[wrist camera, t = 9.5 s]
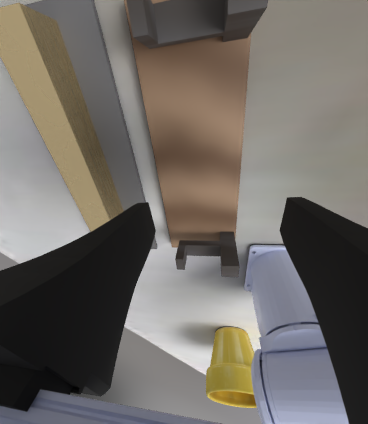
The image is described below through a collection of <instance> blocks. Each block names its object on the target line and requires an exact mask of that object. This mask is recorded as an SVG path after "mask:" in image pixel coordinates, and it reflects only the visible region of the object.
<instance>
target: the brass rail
mask: <svg viewBox="0 0 368 424" xmlns="http://www.w3.org/2000/svg"><path fill="white" fill-rule="evenodd" d="M0 57H1V59H2V61H3V63H4V64H5V66H6V68H7V70H8V72H9V74H10V76H11V78H12V80H13V82H14V84H15V86H16V88H17V90H18V92H19V94H20V96H21V97H22V99H23V101H24V103H25V105H26V107H27V109H28V111H29V113H30V115H31V117H32V119H33V121H34V123H35V125H36V127H37V129H38V130H39V132H40V134H41V136H42V138H43V140H44V142H45V144H46V146H47V148H48V150H49V152H50V154H51V156H52V158H53V160H54V162H55V163H56V165H57V167H58V169H59V171H60V173H61V175H62V177H63V179H64V181H65V183H66V185H67V187H68V189H69V191H70V193H71V195H72V196H73V198H74V200H75V202H76V204H77V206H78V208H79V210H80V212H81V214H82V216H83V218H84V220H85V222H86V224H87V226H88V228H89V229H90V231H93V230H95V229H96V228H98V227H100V226H101V225H103V224H105V223H106V222H108V221H110V220H111V219H113V218H114V217H116V216H117V215H119V214H120V213H122V212H123V208H122V205H121V202H120V199H119V197H118V194H117V191H116V188H115V185H114V182H113V180H112V177H111V174H110V171H109V168H108V165H107V162H106V160H105V157H104V154H103V151H102V148H101V145H100V143H99V140H98V137H97V134H96V131H95V128H94V125H93V123H92V120H91V117H90V114H89V111H88V108H87V106H86V103H85V100H84V97H83V94H82V91H81V89H80V86H79V83H78V80H77V77H76V74H75V71H74V69H73V66H72V63H71V60H70V57H69V54H68V52H67V49H66V46H65V43H64V40H63V37H62V34H61V32H60V29H59V26H58V23H57V20H54V19H52V18H50V17H48V16H46V15H44V14H42V13H40V12H37V11H35V10H33V9H31V8H29V7H27V6H25V5H22V4H20V3H16V4H12V5H8V6H5V7H1V8H0Z"/></svg>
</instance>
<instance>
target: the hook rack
mask: <svg viewBox="0 0 368 424" xmlns="http://www.w3.org/2000/svg"><path fill="white" fill-rule="evenodd" d="M124 3H125V8H126V13H127V18H128V23H129V28H130V33H131V39H132V44H133V49H134V54H135V59H136V64H137V69H138V75H139V80H140V85H141V90H142V95H143V100H144V105H145V111H146V116H147V121H148V126H149V131H150V136H151V141H152V147H153V152H154V157H155V162H156V167H157V172H158V177H159V183H160V188H161V193H162V198H163V203H164V208H165V214H166V219H167V224H168V229H169V234H170V239H171V244H172V247H178V250H177V254H176V259H175V260H176V265H177V269H181V270H185V265H186V258H187V255H192V256H221V276H225V277H238V274H239V261H238V255H237V248H236V242H235V234H236V221H237V208H238V195H239V182H240V169H241V156H242V143H243V130H244V117H245V104H246V91H247V78H248V65H249V52H250V39H251V32H252V30H253V28H254V27H255V25H256V24H257V22H258V21H259V19H260V17H261V16H262V14H263V13H264V11H265V10H266V8H267V3H268V0H124Z"/></svg>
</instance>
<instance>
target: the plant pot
mask: <svg viewBox="0 0 368 424" xmlns="http://www.w3.org/2000/svg"><path fill="white" fill-rule="evenodd" d="M253 357H254V351H253V348H252V345H251V342H250V339H249V336H248V334H247V333H246V332H245V331H244V330H242V329H240V328H236V327H222V328H219V329H218V330H217V331H216V332H215V338H214V345H213V352H212V358H211V364H210V367H209V368H208V369H207V374H206V394H207V397H208V398H209V399H211V400H213V401H215V402H218V403H222V404H225V405H230V406H237V407H245V408H257V406H256V402H255V397H254V392H253V386H252V378H251V364H252V360H253Z"/></svg>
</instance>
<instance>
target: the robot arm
mask: <svg viewBox="0 0 368 424" xmlns="http://www.w3.org/2000/svg"><path fill="white" fill-rule="evenodd" d="M155 232H156V230H155V226H154V222H153V219H152V215H151V211H150V207H149V203H148V202H145V203H137V204H135V205H133V206H131V207H130V208H128V209H126V210H125V211H123V212H122V213H120V214H119V215H117V216H116V217H114V218H113V219H111V220H110V221H108V222H106V223H105V224H103V225H101V226H100V227H98V228H96V229H95V230H93V231H91V232H90V233H88V234H86V235H84V236H82V237H81V238H79V239H77V240H75V241H73V242H71V243H69V244H67V245H64V246H62V247H60V248H58V249H55V250H53V251H51V252H49V253H46V254H44V255H42V256H39V257H37V258H34V259H32V260H29V261H26V262H24V263H21V264H18V265H16V266H13V267H10V268H7V269H4V270H1V271H0V424H221V423H215V422H210V421H205V420H200V419H194V418H189V417H184V416H179V415H173V414H168V413H163V412H158V411H152V410H147V409H142V408H137V407H131V406H126V405H121V404H115V403H110V402H105V401H99V400H94V399H88V398H84V397H78V396H73V395H70V393H76V394H81V393H84V394H90V395H95V396H102V395H103V394H105V393H106V392H107V391H108V390H109V389H110V387H111V382H112V377H113V372H114V367H115V362H116V358H117V353H118V349H119V344H120V340H121V336H122V332H123V328H124V324H125V320H126V317H127V313H128V309H129V306H130V302H131V299H132V296H133V292H134V289H135V286H136V283H137V281H138V278H139V276H140V273H141V271H142V269H143V266H144V264H145V261H146V259H147V257H148V254H149V252H150V249H151V247H152V244H153V240H154V236H155ZM280 233H281V236H282V239H283V242H284V245H285V246H283V245H252V246H250V249H249V256H248V263H247V270H246V277H245V284H244V290H245V291H251V292H252V297H253V302H254V307H255V312H256V317H257V322H258V328H259V331H260V334H261V337H260V338H259V340H260V345H261V349H257V350H256V351H255V354H254V357H253V360H252V364H251V378H252V386H253V392H254V397H255V402H256V406H257V410H258V413H259V416H260V419H261V422H262V424H368V228H366V227H363V226H361V225H359V224H357V223H355V222H352V221H350V220H348V219H346V218H344V217H342V216H340V215H338V214H336V213H334V212H332V211H330V210H328V209H326V208H324V207H322V206H320V205H318V204H316V203H314V202H312V201H309V200H307V199H305V198H302V197H290V198H287V201H286V205H285V210H284V214H283V218H282V223H281V227H280ZM253 251H254V252H253Z"/></svg>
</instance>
